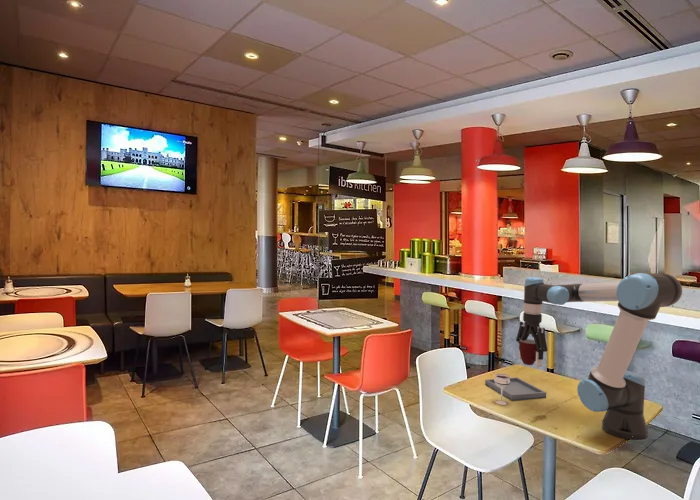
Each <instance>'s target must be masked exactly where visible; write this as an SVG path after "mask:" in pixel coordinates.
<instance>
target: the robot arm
mask: <svg viewBox="0 0 700 500" xmlns="http://www.w3.org/2000/svg"><path fill="white" fill-rule="evenodd" d="M523 286H524V287H523V288H524V290H523V292H524V294H523V307H522V308H523V314H522V315H523V316H522V321H519V328H518V331H517V336H516V338H515V341H516V342H518V344H519V341H520V340H521V339H522V341H525V340H527V339H528V338H529V336H530V335H531V337H532V338H533V340H534V341H535V344H536V347H537V350H538V351H536V361H535V367H536V368H540V367H541V368H542V367H543V360H544V353H545V352H546V353H547V352H548V346H547V345H548V344H547V339H546V329H545V327H540V326H541V325H540V324H541V323H542V321H543V319H542V318H543V315H542V313H543V302H544V303H548V304H552V305H555V306H556V305H559V306H562V305H565V304H566V303H581V302H585V303H586V302H590V303H591V302H618V303H617V308H618V309H619V313H618V316H617V318H616V321H615V323H614V326H613V329H612V331H611V333H610V336H609V338H608V340H607V343H606V345H605V347H604V349H603V353H602V356H601V357H600V361H599V363H598V365H597V366H594V367H591V369H590V372H589V374H588V376H587V378H584V379H582V380H580V381H579V382H578V384H577V388H576V389H577V391H576V392H577V395H578V397H579V400H580V402H581V404H582V405H583V406H584V407H586V409H587V410H589V411H591V412H594V413H595V412H596V413H599V412H605V414H604V417H603V418H602V420H601V421H602V422H601V429H602V430H603V431H605V432H606V433H608V434H610V435H612V436H615V437H618V438H621V439H626V440H633V441H641V440H646V439H648V438H649V428H648V426H647V422H646V419H645V415H644V408H645V389H646V385H645V384H646V382H645V381H646V380H645V377H644V376H643V375H641V374H639V373H636V372H634V371H629V370H628V368H629V365H630V364H631V361H632V359H633V357H634V354H635V352H636V349H637V347H638V345H639V342H641V341H640V340H641V339H642V336H643V334H644V331H645V329H646V327H647V324H648V322H649V321H652V320H653V321H654V320H655V319H656V318H657V315H658V313H659V311H660V308H666V307H670V306H673V305H675V304H676V303H678V302H679V301H680V300H681V298H682V295H683V287H682V284H681V282H680V281H679V280H678V279H677V278H676V277H675V276H674V275H672V274H669V273H665V272H664V273H663V272H655V273H642V272H638V273H634V274H628V275H627V276H625V277H623V278H622V279H621V280H620V281H619V280H618V281H604V282H603V281H602V282H589V283H573V284H571V283H570V284H569V283H568V284H548V283H545V282H544V278H541V277H536V276H533V277H532V276H529V277H525V281H524V285H523ZM518 350H519V352H518V359H519V360H522V359H521V356H520V349H519V348H518ZM632 436H633V437H632Z"/></svg>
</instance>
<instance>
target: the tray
mask: <svg viewBox="0 0 700 500" xmlns="http://www.w3.org/2000/svg"><path fill="white" fill-rule="evenodd" d="M509 379H510V384H509V386H507V387H506V388H504V389H503V394H502V397H504V398H506V399H508V400H510V401H511V402H514V401H515V402H516V401H525V400H537V399H546V398H547V392H546V391H544V390H542V389H541V388H539V387H537V386H535V385H533V384H531V383H529V382H527V381H526V380H523V379H521V378H520V377H517V376H516V377H510V378H509ZM484 381H485V382H484V385H485V386H487V387H488V388H489V389H492V390H493V391H495V392H497V393H498V394H499V395H501V388H500V387H498V386H497V385H496V384H495V381H494V378H492V379H490V378H489V379H485V380H484Z"/></svg>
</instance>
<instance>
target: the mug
mask: <svg viewBox="0 0 700 500" xmlns="http://www.w3.org/2000/svg"><path fill="white" fill-rule="evenodd" d="M518 344H519V345H518V350H519V349H520V356H521V359H520V360H521V361H522V363H523V364H524V365H526V366H532V365H534V364H535V363H536V351H538V350H537V347H536V344H535V341H534V339H528V338H527V340H525V341H522V339H521V340H520V341H519V343H518Z"/></svg>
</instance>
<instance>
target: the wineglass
mask: <svg viewBox="0 0 700 500" xmlns="http://www.w3.org/2000/svg"><path fill="white" fill-rule="evenodd" d="M509 378H511V376H510V375H509V374H505V373H495V374H494V378H493V379H494V381H495V384H496V385H497V386H498V387H500V388H501V394H500V400H496V401H495V404H497V405H501V406H507V405H508V402H507V401H504V400H503V395H502V394H503V389H504V388H506V387H507V386H509V384H510V379H509Z"/></svg>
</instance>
